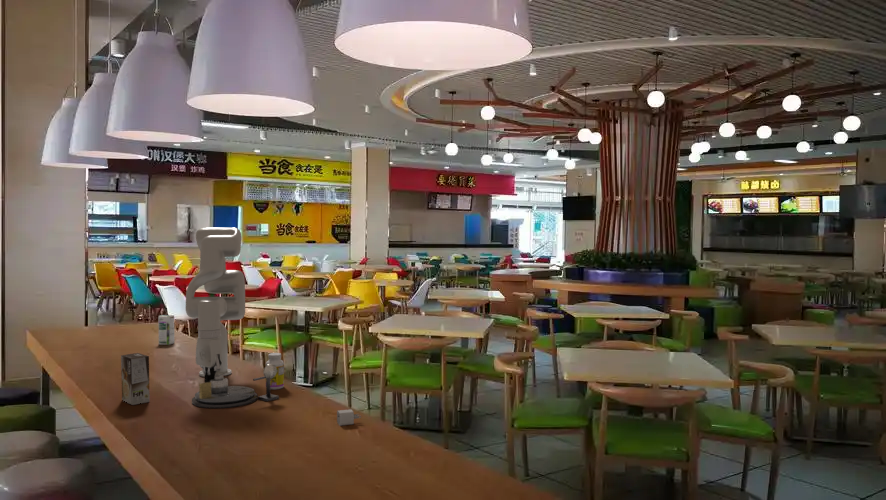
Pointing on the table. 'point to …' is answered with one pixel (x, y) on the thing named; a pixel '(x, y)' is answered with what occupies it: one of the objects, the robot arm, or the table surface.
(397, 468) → the table surface
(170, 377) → the table surface
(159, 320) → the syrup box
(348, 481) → the table surface
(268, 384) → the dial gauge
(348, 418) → the usb wall charger
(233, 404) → the turntable base
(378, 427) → the table surface
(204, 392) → the platter
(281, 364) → the supplement bottle
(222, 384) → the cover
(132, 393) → the coffee box
